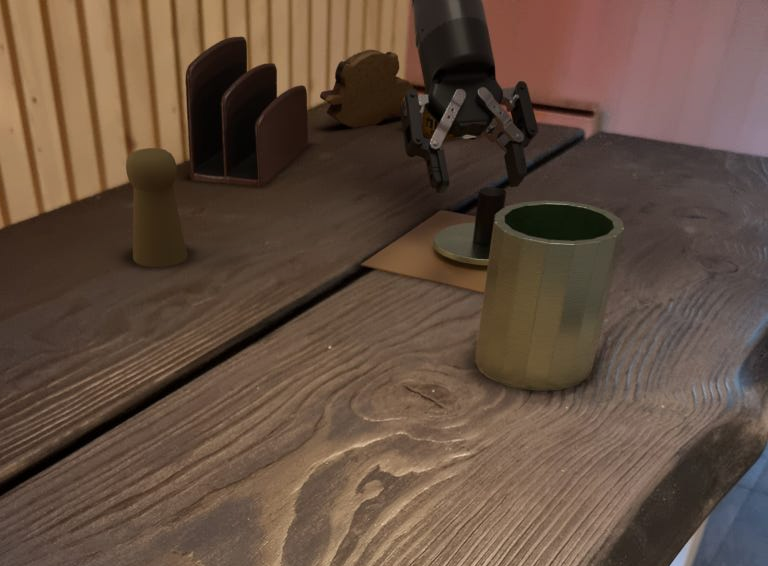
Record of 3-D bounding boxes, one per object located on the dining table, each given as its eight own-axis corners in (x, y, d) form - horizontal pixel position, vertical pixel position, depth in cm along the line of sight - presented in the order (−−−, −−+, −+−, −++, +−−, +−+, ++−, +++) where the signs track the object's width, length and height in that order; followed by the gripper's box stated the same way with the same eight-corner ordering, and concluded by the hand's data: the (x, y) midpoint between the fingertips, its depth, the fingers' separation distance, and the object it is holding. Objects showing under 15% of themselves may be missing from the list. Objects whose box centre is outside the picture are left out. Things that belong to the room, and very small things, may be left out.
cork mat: (603, 246, 103) (604, 240, 103) (538, 309, 91) (539, 303, 90) (440, 214, 111) (441, 209, 111) (360, 269, 99) (360, 264, 98)
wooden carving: (392, 113, 145) (396, 39, 139) (413, 119, 143) (418, 43, 136) (313, 133, 138) (314, 55, 131) (334, 139, 135) (336, 60, 128)
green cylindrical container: (605, 359, 83) (639, 213, 74) (566, 406, 77) (599, 253, 68) (500, 334, 87) (522, 193, 78) (456, 376, 81) (474, 228, 72)
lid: (552, 245, 102) (562, 185, 98) (513, 279, 95) (523, 216, 91) (458, 227, 106) (465, 168, 102) (415, 258, 99) (420, 197, 95)
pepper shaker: (127, 254, 102) (113, 146, 95) (179, 247, 104) (170, 139, 96) (140, 274, 98) (127, 162, 91) (195, 266, 100) (186, 155, 92)
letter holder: (189, 183, 121) (180, 58, 111) (244, 142, 134) (239, 27, 125) (261, 190, 118) (258, 63, 109) (309, 148, 132) (309, 31, 122)
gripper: (400, 17, 94) (430, 173, 93) (528, 10, 96) (558, 161, 96) (379, 66, 101) (407, 210, 101) (499, 58, 104) (527, 199, 103)
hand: (480, 186), depth 98 cm, fingers open, 8 cm apart
